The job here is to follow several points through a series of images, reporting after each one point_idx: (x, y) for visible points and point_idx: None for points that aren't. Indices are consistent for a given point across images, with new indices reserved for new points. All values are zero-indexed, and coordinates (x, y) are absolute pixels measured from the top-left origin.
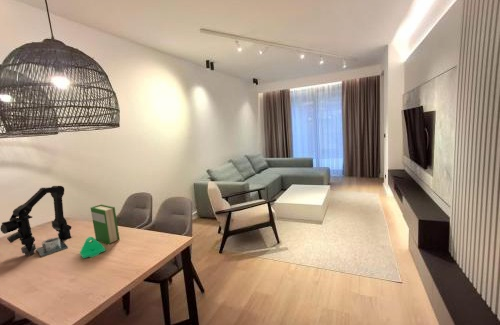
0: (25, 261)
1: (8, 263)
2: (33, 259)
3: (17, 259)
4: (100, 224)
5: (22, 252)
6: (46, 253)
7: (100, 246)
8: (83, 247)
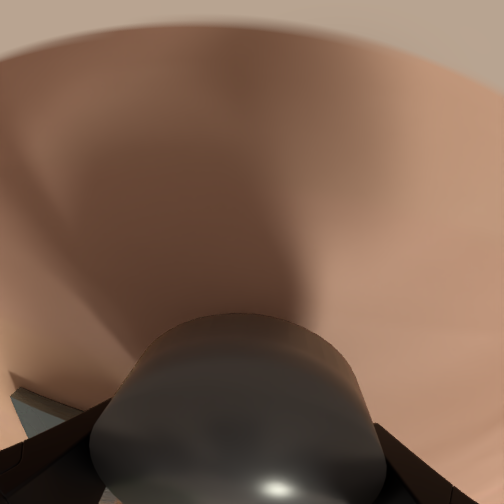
0: (9, 259)
1: (145, 66)
2: (6, 328)
3: (190, 190)
4: None
5: (201, 325)
6: (30, 436)
7: None
8: None
